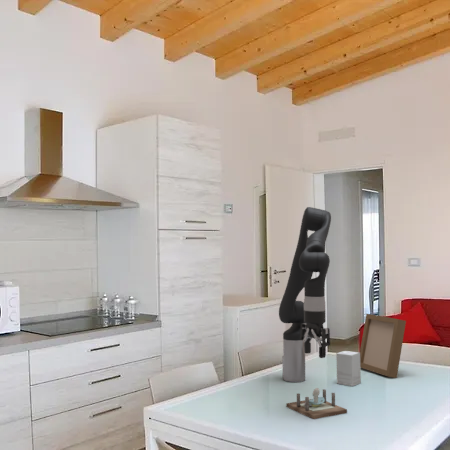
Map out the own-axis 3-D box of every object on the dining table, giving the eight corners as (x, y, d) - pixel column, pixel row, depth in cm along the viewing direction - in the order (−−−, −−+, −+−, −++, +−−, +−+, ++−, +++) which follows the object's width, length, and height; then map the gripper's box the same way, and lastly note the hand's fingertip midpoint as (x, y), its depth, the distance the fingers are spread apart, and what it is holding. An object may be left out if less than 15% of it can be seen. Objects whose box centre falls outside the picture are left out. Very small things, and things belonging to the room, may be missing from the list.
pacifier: (300, 406, 191) (314, 409, 187) (299, 387, 191) (313, 390, 187) (313, 401, 196) (327, 404, 192) (312, 384, 196) (326, 386, 192)
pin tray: (286, 406, 195) (286, 390, 195) (318, 401, 201) (318, 385, 201) (313, 419, 180) (313, 402, 181) (347, 413, 187) (346, 396, 187)
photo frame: (388, 379, 234) (387, 320, 235) (357, 368, 254) (356, 314, 255) (416, 375, 240) (414, 317, 241) (383, 365, 260) (382, 312, 261)
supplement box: (361, 383, 227) (360, 352, 227) (352, 386, 222) (351, 355, 222) (345, 380, 232) (345, 350, 232) (336, 383, 227) (335, 352, 227)
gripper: (335, 310, 189) (336, 358, 188) (311, 306, 201) (311, 350, 201) (318, 312, 185) (318, 360, 185) (294, 307, 198) (294, 352, 197)
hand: (314, 355), depth 193 cm, fingers open, 8 cm apart
